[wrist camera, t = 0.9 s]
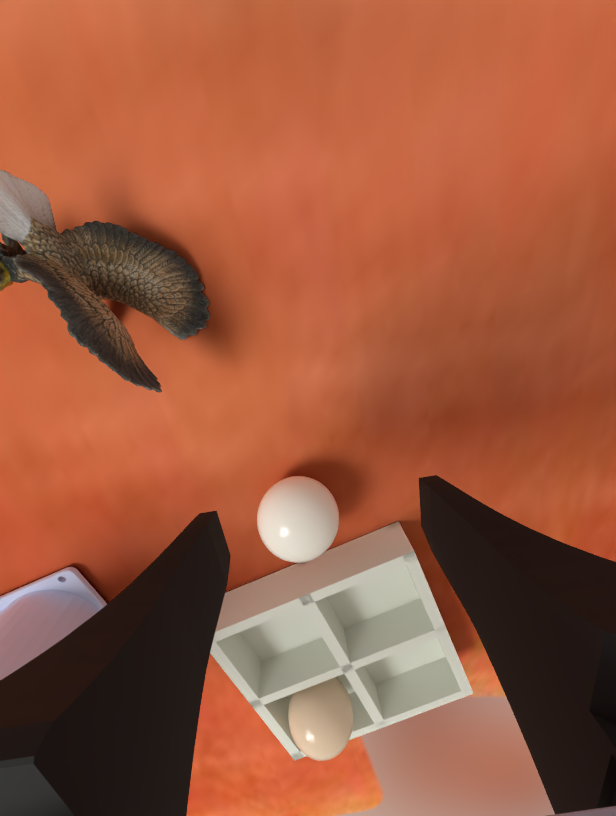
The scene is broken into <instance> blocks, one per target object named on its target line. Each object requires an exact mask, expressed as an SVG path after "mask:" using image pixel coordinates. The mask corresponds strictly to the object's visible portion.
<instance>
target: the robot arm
mask: <svg viewBox="0 0 616 816" xmlns="http://www.w3.org/2000/svg"><path fill="white" fill-rule="evenodd" d="M419 490H420V508H421V526H422V528H423V531H424V533H425V536H426V538H427V540H428V543H429V545H430V547H431V550H432V552H433V554H434V556H435V557H436V559H437V561H438V563H439V565H440V566H441V568H442V570H443V572H444V573H445V575H446V577H447V579H448V580H449V582H450V584H451V586H452V587H453V589H454V591H455V593H456V594H457V596H458V598H459V599H460V601H461V603H462V605H463V606H464V608H465V610H466V612H467V613H468V615H469V617H470V619H471V621H472V623H473V625H474V627H475V629H476V630H477V633H478V635H479V637H480V639H481V641H482V643H483V646H484V648H485V650H486V652H487V654H488V656H489V659H490V661H491V663H492V665H493V667H494V670H495V672H496V674H497V676H498V679H499V681H500V683H501V685H502V688H503V690H504V692H505V694H506V697H507V699H508V701H509V703H510V706H511V708H512V710H513V713H514V715H515V718H516V720H517V722H518V725H519V727H520V729H521V732H522V734H523V737H524V739H525V741H526V743H527V746H528V748H529V751H530V753H531V755H532V758H533V760H534V763H535V765H536V768H537V770H538V773H539V775H540V778H541V780H542V783H543V785H544V788H545V790H546V793H547V795H548V798H549V800H550V803H551V805H552V807H553V810H554V812H555V815H548V816H616V562H614V561H611V560H608V559H605V558H602V557H599V556H596V555H593V554H591V553H588V552H585V551H583V550H580V549H577V548H575V547H572V546H569V545H567V544H564V543H562V542H559V541H557V540H555V539H552V538H550V537H548V536H546V535H543V534H541V533H539V532H537V531H534V530H532V529H530V528H528V527H526V526H524V525H522V524H520V523H518V522H516V521H514V520H512V519H510V518H508V517H506V516H504V515H502V514H500V513H498V512H497V511H495V510H493V509H491V508H489V507H488V506H486V505H484V504H483V503H481V502H479V501H477V500H476V499H474V498H472V497H471V496H469V495H468V494H466V493H464V492H463V491H461V490H459V489H458V488H456V487H455V486H453V485H451V484H450V483H448V482H447V481H445V480H443V479H442V478H440V477H438V476H437V475H435V476H429V477H423V478H419ZM229 565H230V553H229V550H228V546H227V543H226V540H225V537H224V533H223V530H222V527H221V524H220V521H219V517H218V514H217V511H212V512H206V513H200V514H199V515H198V516H197V517H196V518H195V519H194V520H193V521H192V522H191V523H190V524H189V525H188V526H187V527H186V528H185V529H184V530H183V531H182V532H181V533H180V535H179V536H178V537H177V538H176V539H175V540H174V541H173V542H172V543H171V544H170V545H169V546H168V547H167V548H166V549H165V550H164V552H163V553H162V554H161V555H160V556H159V557H158V558H157V559H156V560H155V561H154V562H153V563H152V564H151V565H150V566H149V567H148V568H147V569H146V570H145V571H143V572H142V573H141V574H140V575H139V576H138V577H137V578H136V579H135V580H134V581H133V582H132V583H131V584H130V585H129V586H128V587H127V588H126V589H124V590H123V591H122V592H121V593H120V594H119V595H118V596H116V597H115V598H114V599H113V600H112V601H110V602H109V603H108V604H107V603H106V602H105V601H104V600H103V598H102V597H101V596H100V595H99V594H98V593H97V592H96V590H95V589H94V588H93V587H92V586H91V585H90V584H89V582H88V581H87V580H86V579H85V578H84V577H83V576H82V575H81V573H80V572H79V571H78V570H77V569H76V568H74V567H67V568H65V569H62V570H60V571H58V572H55V573H53V574H51V575H48V576H46V577H44V578H41V579H39V580H37V581H35V582H32V583H30V584H28V585H25V586H23V587H21V588H18V589H16V590H14V591H11V592H9V593H7V594H5V595H2V596H0V816H186V813H187V803H188V795H189V787H190V779H191V770H192V762H193V754H194V746H195V739H196V732H197V725H198V718H199V711H200V705H201V698H202V692H203V686H204V680H205V674H206V668H207V664H208V659H209V654H210V650H211V647H212V643H213V639H214V635H215V631H216V627H217V623H218V619H219V615H220V611H221V607H222V603H223V599H224V595H225V591H226V587H227V581H228V573H229Z"/></svg>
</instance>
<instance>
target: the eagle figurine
mask: <svg viewBox="0 0 616 816" xmlns="http://www.w3.org/2000/svg"><path fill="white" fill-rule="evenodd" d="M0 233H2V239H3V241H4V243H5V244H6V245H4V244H2V243H1V242H0V291H2V290H3V289H4V288H5V287H7V286H10V285H12V284H13V282H20V283H23V282H25V281H28V280H31V281H33V282H37V283H39V284H41V285H42V286H43V287H44V288H45V289H46V290H47V291H48V298H49V299H50V300H51V301H53V302H54V304H55V305H56V307H57V308H59V309H60V311H61V317H62V318H63V319H64V320H66V321H67V323H68V325H67V328H68V331H69V334H70V335H71V336H72V337H74V338H76V340H77V342H78V343H79V344H80V345H81V346H83V347H87V348H88V349H89V352H90V353H91V354H93V355H96V356H97V357H98V359H99V360H100V361H101V362H103V363H104V364H106V365H107V366H108V367H109V368H111V369H112V370H113V371H114V372H116V373H117V374H118V375H120V376H121V377H122V378H123V379H124V380H126V381H130V382H131V383H134V384H135V385H137V386H143V387H144V388H146V389H148V390H152V389H153V390H155V391H156V392H162V391H161V389H160V387H161V385H160V383H159V382H158V381H157V378H156V376H155V375H154V374H153V373H152V372H151V371H150V370H149V369H148V367H147V366H146V365H145V364H144V362H143V360H142V359H141V357H140V356H139V355H138V353H137V351H136V349H135V346H134V343H133V341H132V338H131V336H130V334H129V333H128V331H127V329H126V328H125V326H124V325H123V324H122V323H121V322H120V320H119V319H118V318H117V317H116V316H115V315H114V314H113V312H112V311H111V310H110V309H109V308H108V307H107V305H105V304H104V303H103V301H102V300H101V299H111V300H114V301H118V302H121V303H124V304H126V305H128V306H130V307H132V308H134V309H136V310H138V311H140V312H142V313H144V314H146V315H147V316H150V317H151V318H153V319H154V320H155V321H157V322H158V323H159V324H160V325H161V326H162V327H164V328H165V329H167V330H168V331H169V332H170V333H172V334H173V335H174V336H176V337H178V338H179V339H181V340H185V339H186V338H187V336H188V335H190V336H191V335H192V336H194V335H196V334H197V330H198V329H204V328H206V326H207V324H206V321H207V320H209V319H210V313H209V312H208V310H207V307H208V306H209V301H208V299H207V298H206V296H205V295H203V294H202V293H201V291H202V290H204V286H203V284H201V283H200V282H199V281H198V279H199V276H198V273H197V272H196V271H195V270H194V269H193V267H192V266H191V265H189V264H187V262H186V260H185V259H184V258H183V257H181V256H178V255H177V253H176V252H175V251H173V250H169V249H166V248H165V247H164V246H162V245H160V244H158V243H157V242H149V241H148V239H146V238H144V237H141V236H140V235H138V234H136V233H130V232H129V231H128V229H126V228H123V227H121V226H120V225H114V224H112V223H108V222H107V223H101V222H99V221H94V222H92V223H91V222H86V223H85V224H84V225H83V226H77V227H75V228H74V230H69V229H65V230H64V232H63V233H59V232H57V230H56V226H55V222H54V218H53V213H52V209H51V205H50V202H49V199H48V197H47V195H46V194H45V193H43V191H42V190H40V189H39V188H37V187H36V186H35V185H33V184H31V183H29V182H26V181H24V180H22V179H19V178H17V177H15V176H13V175H11V174H10V173H8V172H6V171H3V170H0ZM18 242H19V243H20V244H21V245H22V246H23V247H25V250H26V251H25V250H23V249H22V247H21V246H20V244H19V243H18Z"/></svg>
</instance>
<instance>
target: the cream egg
mask: <svg viewBox="0 0 616 816" xmlns="http://www.w3.org/2000/svg"><path fill="white" fill-rule="evenodd" d="M257 526H258V531H259V534H260V537H261V539H262V541H263V543H264V544H265V546H266V547H267V548H268V550H269V551H270V552H272V553H273V554H274V555H275V556H277V557H279V558H280V559H283V560H285V561H289V562H296V563H300V562H307V561H310V560H313V559H315V558H317V557H319V556H320V555H322V554H323V553H324V552H325V551H326V550H327V549H328V548H329V547H330V546H331V544H332V542H333V541H334V539H335V537H336V534H337V531H338V527H339V511H338V507H337V504H336V501H335V499H334V497H333V495H332V494H331V492H330V491H329V490H328V489H327V488H326V487H325V486H324V485H323V484H322V483H320V482H319V481H317V480H315V479H312V478H309V477H305V476H292V477H288V478H285V479H282V480H280V481H278V482H277V483H275V484H274V485H273V486H272V487H270V489H269V490H268V491H267V492H266V493H265V495H264V496H263V498H262V500H261V502H260V505H259V508H258V514H257Z"/></svg>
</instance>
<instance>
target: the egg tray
mask: <svg viewBox="0 0 616 816" xmlns="http://www.w3.org/2000/svg"><path fill="white" fill-rule="evenodd" d="M210 654H211V655H212V656H213V657H214V659H215V660H216V661H217V662H218V664H219V665H220V666H221V667H222V669H223V670H224V671H225V673H226V674H227V675H228V676H229V678H230V679H231V680H232V681H233V683H234V684H235V685H236V686H237V688H238V689H239V690H240V692H241V693H242V694H243V695H244V697H245V698H246V699H247V700H248V702H249V703H250V704H251V706H252V707H253V708H254V709H255V711H256V712H257V713H258V714H259V716H260V717H261V718H262V719H263V721H264V722H265V723H266V725H267V726H268V727H269V728H270V730H271V731H272V732H273V733H274V735H275V736H276V737H277V739H278V740H279V741H280V742H281V744H282V745H283V746H284V747H285V749H286V750H287V751H288V752H289V754H290V755H291V756H292V758H293V759H294V760H297V759H300V758H303V757H305V756H306V755H305V754H304V753H303V752H302V751H301V750H300V749H299V748H298V746H297V745H296V743H295V741H294V739H293V737H292V734H291V731H290V727H289V720H288V711H289V703H290V699H291V696H292V694H293V693H296V692H298V691H301V690H303V689H306V688H309V687H311V686H314V685H316V684H319V683H321V682H324V681H327V680H329V679H332V678H334V677H337V678H338V679H339V680H340V681H341V682H342V683H343V685H344V686H345V688H346V689H347V691H348V693H349V695H350V698H351V702H352V706H353V714H354V720H353V729H352V733H351V736H350V739H349V740H351V739H353V738H356V737H359V736H361V735H364V734H367V733H369V732H372V731H374V730H377V729H380V728H383V727H385V726H388V725H390V724H393V723H396V722H398V721H401V720H404V719H407V718H409V717H412V716H415V715H417V714H420V713H423V712H425V711H428V710H431V709H433V708H436V707H439V706H441V705H444V704H446V703H449V702H452V701H455V700H457V699H460V698H463V697H465V696H468V695H471V694H473V691H472V689H471V686H470V684H469V681H468V679H467V677H466V674H465V672H464V669H463V667H462V665H461V662H460V660H459V657H458V655H457V653H456V650H455V648H454V645H453V643H452V641H451V638H450V636H449V633H448V631H447V629H446V626H445V624H444V621H443V619H442V617H441V614H440V612H439V609H438V607H437V605H436V602H435V600H434V597H433V595H432V593H431V590H430V588H429V585H428V583H427V581H426V578H425V576H424V573H423V571H422V569H421V566H420V564H419V561H418V559H417V557H416V554H415V552H414V550H413V548H412V546H411V544H410V542H409V540H408V538H407V537H406V535H405V533H404V531H403V529H402V527H401V525H400V523H399V521H398V522H395V523H393V524H390V525H388V526H385V527H383V528H381V529H378V530H376V531H373V532H371V533H369V534H366V535H364V536H361V537H359V538H357V539H354V540H352V541H349V542H347V543H344V544H342V545H340V546H337V547H335V548H332V549H330V550H328V551H325V552H324V553H323V554H322V555H320V556H319V557H317V558H315V559H313V560H310V561H307V562H300V563H296V564H294V565H291V566H289V567H287V568H284V569H282V570H279V571H277V572H274V573H272V574H270V575H267V576H265V577H262V578H260V579H258V580H255V581H253V582H250V583H248V584H245V585H243V586H241V587H238V588H236V589H233V590H231V591H229V592H226V593H225V595H224V599H223V603H222V607H221V611H220V615H219V619H218V623H217V627H216V631H215V635H214V639H213V643H212V647H211V650H210Z"/></svg>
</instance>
